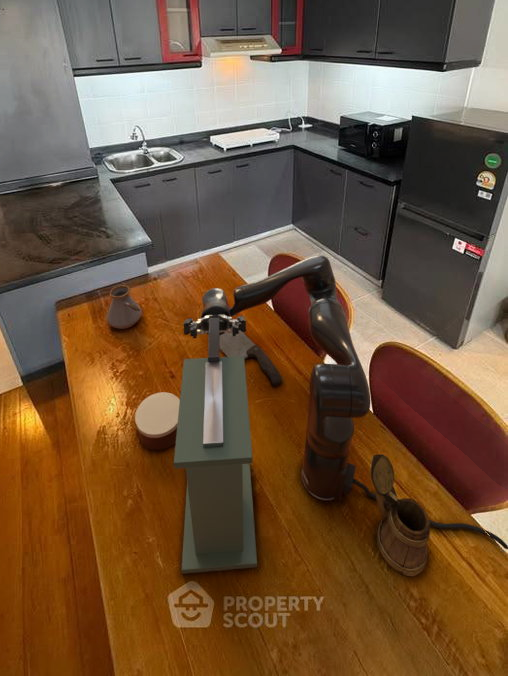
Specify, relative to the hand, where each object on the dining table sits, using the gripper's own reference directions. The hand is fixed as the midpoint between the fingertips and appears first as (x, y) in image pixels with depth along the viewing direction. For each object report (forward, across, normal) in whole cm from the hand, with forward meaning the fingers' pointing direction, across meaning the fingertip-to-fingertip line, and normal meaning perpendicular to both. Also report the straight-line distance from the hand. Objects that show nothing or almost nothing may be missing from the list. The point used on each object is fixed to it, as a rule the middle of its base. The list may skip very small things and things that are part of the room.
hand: (214, 332), depth 82 cm
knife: (+10, 0, +6) cm, 11 cm away
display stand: (-1, 0, +36) cm, 36 cm away
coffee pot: (-48, -29, +9) cm, 57 cm away
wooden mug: (+5, +34, +40) cm, 53 cm away
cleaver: (-36, +8, +16) cm, 41 cm away
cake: (-17, -14, +27) cm, 35 cm away
